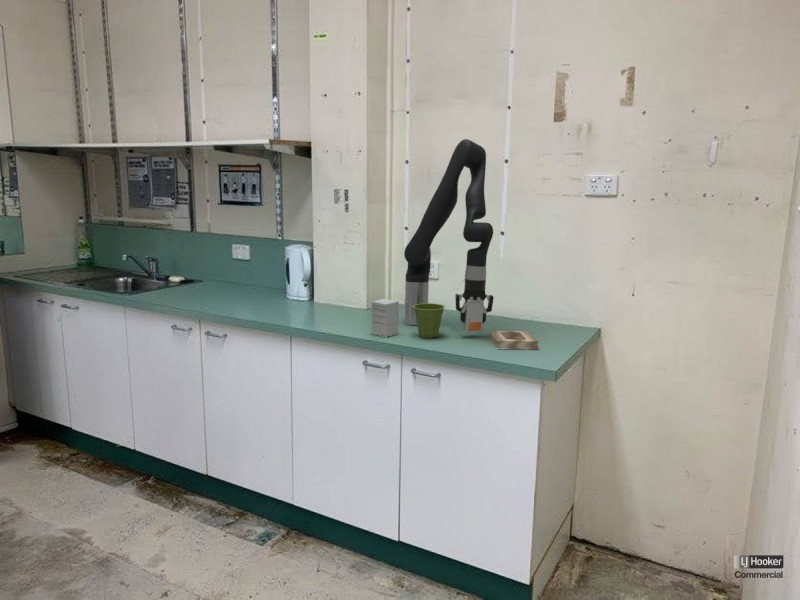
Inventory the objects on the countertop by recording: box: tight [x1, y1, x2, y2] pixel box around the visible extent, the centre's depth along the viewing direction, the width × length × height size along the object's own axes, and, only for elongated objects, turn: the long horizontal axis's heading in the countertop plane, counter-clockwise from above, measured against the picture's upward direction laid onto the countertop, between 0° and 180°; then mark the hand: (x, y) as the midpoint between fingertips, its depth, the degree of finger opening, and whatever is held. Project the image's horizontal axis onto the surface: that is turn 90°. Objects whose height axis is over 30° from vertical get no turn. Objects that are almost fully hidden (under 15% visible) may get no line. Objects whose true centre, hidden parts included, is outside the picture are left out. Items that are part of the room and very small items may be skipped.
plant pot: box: [413, 302, 446, 339], centre depth 214 cm, size 12×12×11 cm
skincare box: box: [462, 300, 485, 333], centre depth 213 cm, size 6×4×12 cm
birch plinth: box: [488, 330, 539, 350], centre depth 206 cm, size 14×14×3 cm
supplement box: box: [371, 298, 400, 338], centre depth 215 cm, size 7×7×13 cm
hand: (472, 322), depth 214 cm, fingers closed on skincare box, 6 cm apart
